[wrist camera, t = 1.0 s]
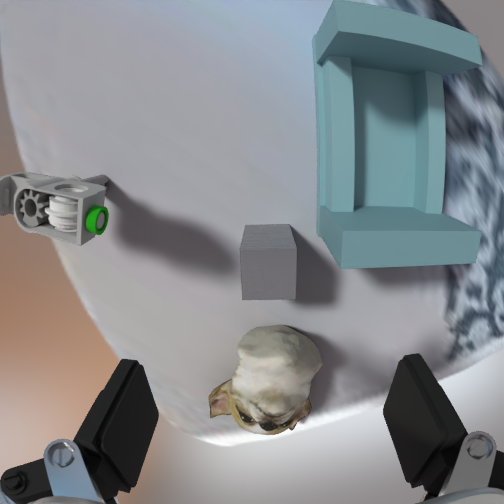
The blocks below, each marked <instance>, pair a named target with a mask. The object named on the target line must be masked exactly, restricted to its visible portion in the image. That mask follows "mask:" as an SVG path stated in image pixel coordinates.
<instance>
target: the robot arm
mask: <svg viewBox="0 0 504 504" xmlns="http://www.w3.org/2000/svg"><path fill="white" fill-rule="evenodd" d="M383 415H384V418H385V421H386V424H387V426H388V429H389V432H390V435H391V438H392V440H393V443H394V446H395V449H396V452H397V455H398V458H399V461H400V464H401V467H402V470H403V473H404V476H405V480H406V481H407V482H408V483H410V484H411V487H412V488H415V487H418V486H421V485H423V486H424V489H425V493H424V495H423V497H422V499H421V501H420V503H417V504H504V453H503V452H500V451H498V450H496V442H495V440H494V439H493V437H492V436H491V435H489V434H488V433H485V432H482V431H476V432H472V433H470V434H468V433H467V431H466V429H465V427H464V425H463V423H462V422H461V420H460V418H459V416H458V415H457V413H456V411H455V409H454V407H453V406H452V404H451V402H450V400H449V399H448V397H447V395H446V394H445V392H444V391H443V389H442V387H441V386H440V385H439V383H438V382H437V380H436V378H435V377H434V375H433V374H432V372H431V370H430V369H429V367H428V366H427V364H426V362H425V361H424V359H423V358H422V356H421V355H420V354H419V353H417V354H411V355H405V356H404V357H403V359H402V360H400V361H399V363H398V366H397V370H396V373H395V376H394V379H393V382H392V385H391V388H390V391H389V394H388V396H387V399H386V402H385V405H384V408H383ZM158 417H159V413H158V409H157V407H156V404H155V401H154V398H153V395H152V392H151V389H150V386H149V383H148V380H147V377H146V374H145V371H144V367H143V366H142V365H140V364H139V362H138V361H137V360H129V359H122V360H121V361H120V362H119V364H118V366H117V367H116V369H115V371H114V373H113V374H112V376H111V378H110V380H109V381H108V383H107V385H106V386H105V388H104V390H102V391H101V392H100V393H99V395H98V397H97V398H96V400H95V402H94V404H93V405H92V407H91V409H90V411H89V412H88V414H87V416H86V418H85V420H84V421H83V423H82V425H81V427H80V429H79V431H78V432H77V434H76V436H75V438H74V440H73V441H70V440H68V439H58V440H55V441H53V442H51V443H50V444H49V445H48V446H47V447H46V449H45V451H44V458H42V459H39V460H36V461H33V462H30V463H27V464H24V465H20V466H17V467H14V468H11V469H8V470H6V471H5V472H4V473H3V475H2V477H1V480H0V504H120V503H119V502H118V499H117V498H116V496H117V494H118V491H119V490H120V491H124V492H127V493H130V490H131V487H135V486H136V484H137V481H138V478H139V475H140V472H141V468H142V466H143V463H144V460H145V457H146V453H147V451H148V448H149V445H150V442H151V439H152V436H153V433H154V430H155V427H156V424H157V421H158Z"/></svg>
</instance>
